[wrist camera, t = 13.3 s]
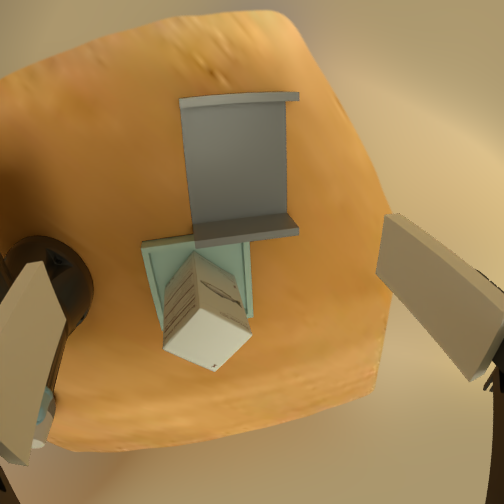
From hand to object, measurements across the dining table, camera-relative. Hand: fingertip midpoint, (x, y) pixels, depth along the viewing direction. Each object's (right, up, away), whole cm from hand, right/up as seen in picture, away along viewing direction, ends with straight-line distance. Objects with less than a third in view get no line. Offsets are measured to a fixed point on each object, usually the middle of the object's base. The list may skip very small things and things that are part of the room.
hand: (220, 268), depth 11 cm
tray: (-6, -3, +34) cm, 34 cm away
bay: (-1, +12, +27) cm, 29 cm away
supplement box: (-6, -3, +33) cm, 34 cm away
